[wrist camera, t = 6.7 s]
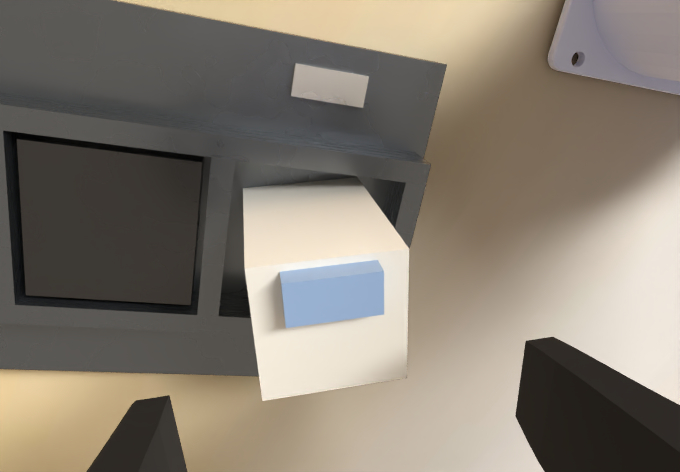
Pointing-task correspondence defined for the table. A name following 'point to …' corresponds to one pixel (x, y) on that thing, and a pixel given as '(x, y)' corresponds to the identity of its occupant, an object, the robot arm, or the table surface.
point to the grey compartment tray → (174, 173)
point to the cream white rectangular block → (324, 287)
